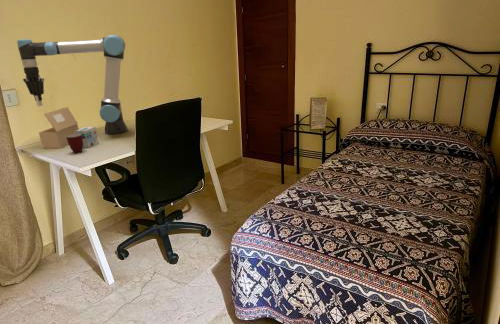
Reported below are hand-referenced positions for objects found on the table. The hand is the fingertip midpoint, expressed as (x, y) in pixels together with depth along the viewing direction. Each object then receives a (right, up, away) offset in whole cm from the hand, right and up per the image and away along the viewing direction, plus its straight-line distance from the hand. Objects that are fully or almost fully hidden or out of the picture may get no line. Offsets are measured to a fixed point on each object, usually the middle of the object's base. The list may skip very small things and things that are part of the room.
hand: (40, 105), depth 214 cm
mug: (+29, -29, -11) cm, 42 cm away
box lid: (+13, -8, +1) cm, 15 cm away
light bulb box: (+30, -25, 0) cm, 39 cm away
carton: (+10, -23, +7) cm, 26 cm away
